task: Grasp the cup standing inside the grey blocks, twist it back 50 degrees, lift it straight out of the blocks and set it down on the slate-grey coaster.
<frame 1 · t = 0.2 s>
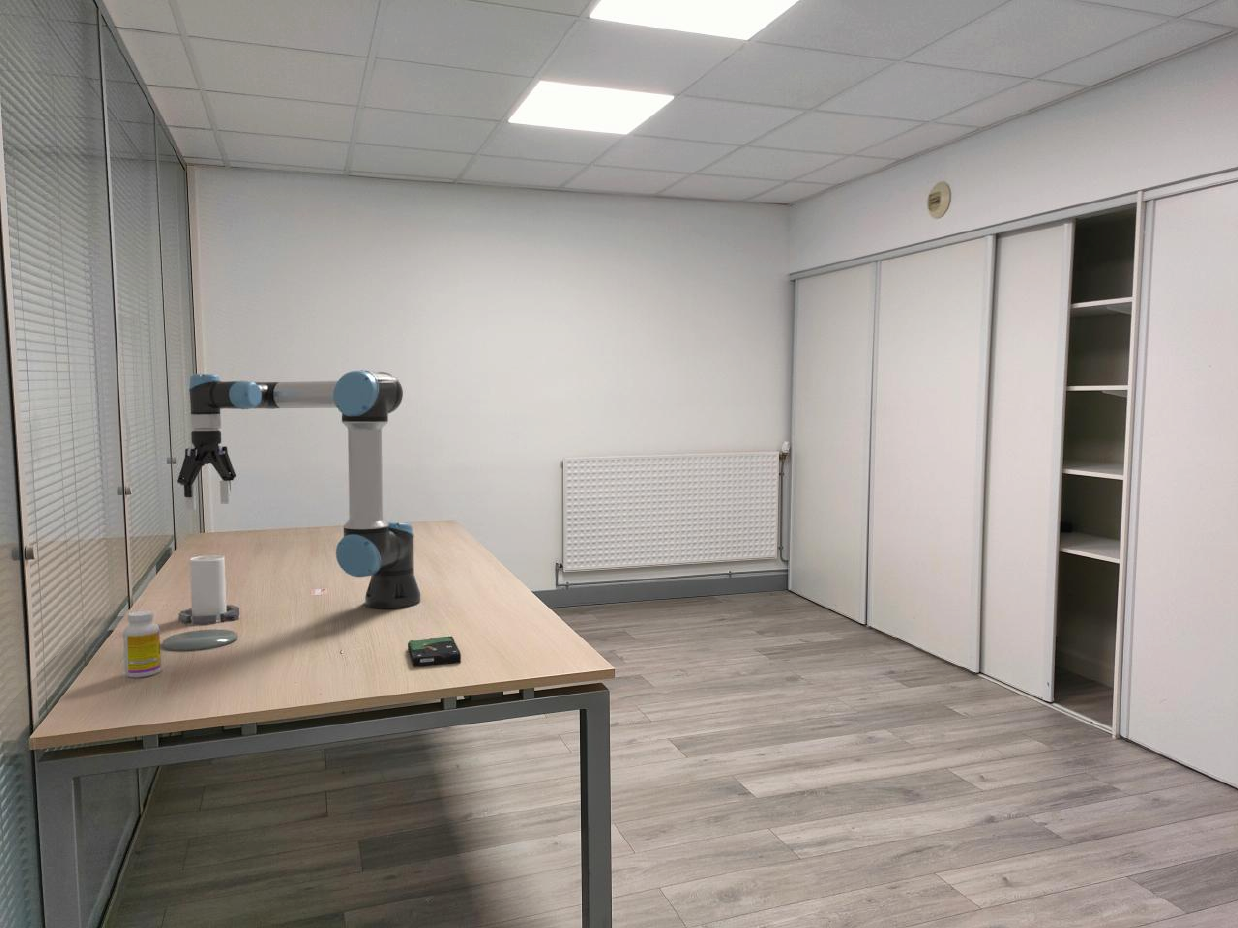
hand: (208, 506, 246), 28 cm above the table, fingers open, 13 cm apart
disk drive: (433, 658, 197), on the table
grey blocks: (209, 617, 232), on the table
supplement bottle: (143, 674, 184), on the table
coaster: (200, 641, 209), on the table
cup: (209, 618, 232), resting in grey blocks
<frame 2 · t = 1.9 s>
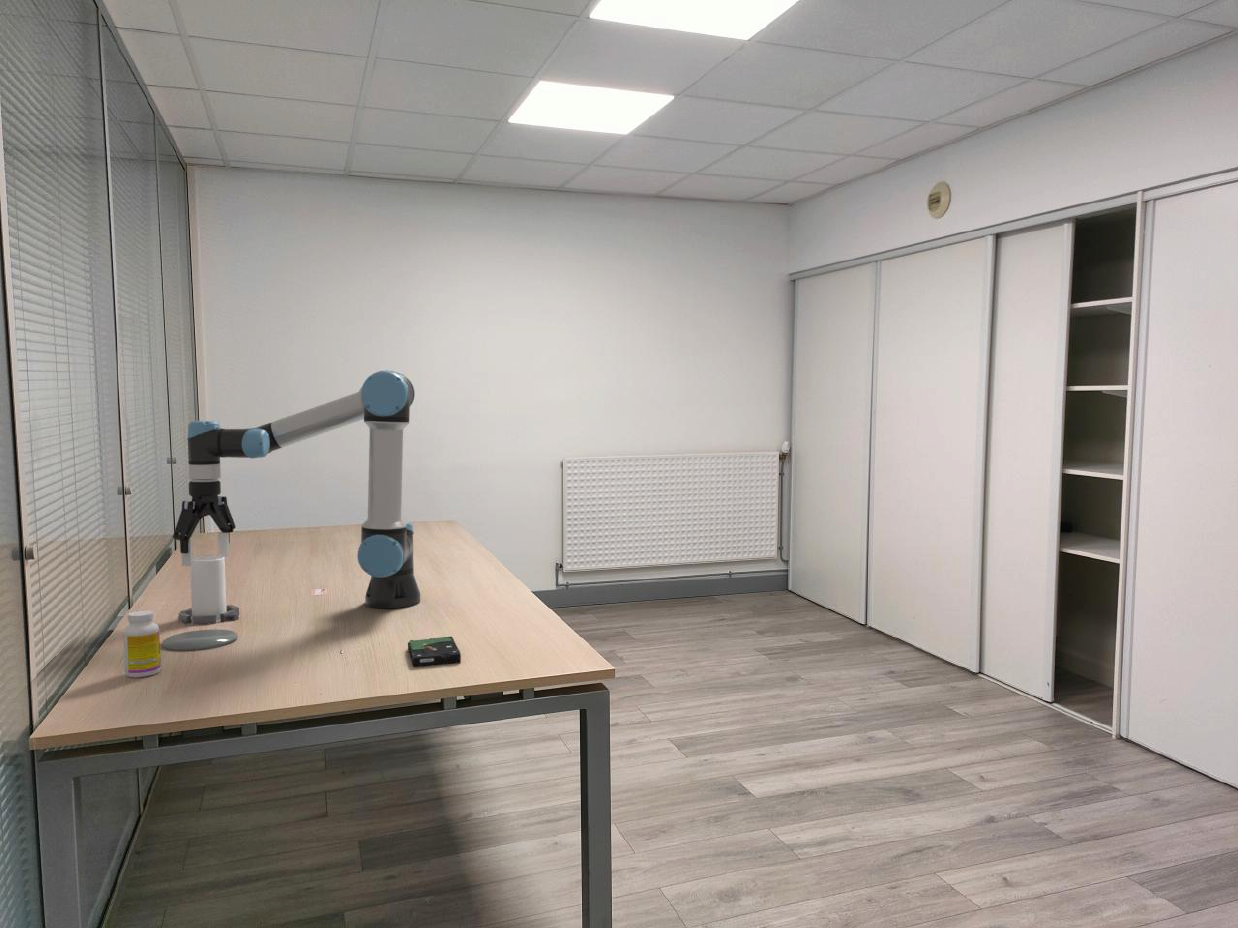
hand: (206, 561, 230), 15 cm above the table, fingers open, 13 cm apart
nothing on the table moved.
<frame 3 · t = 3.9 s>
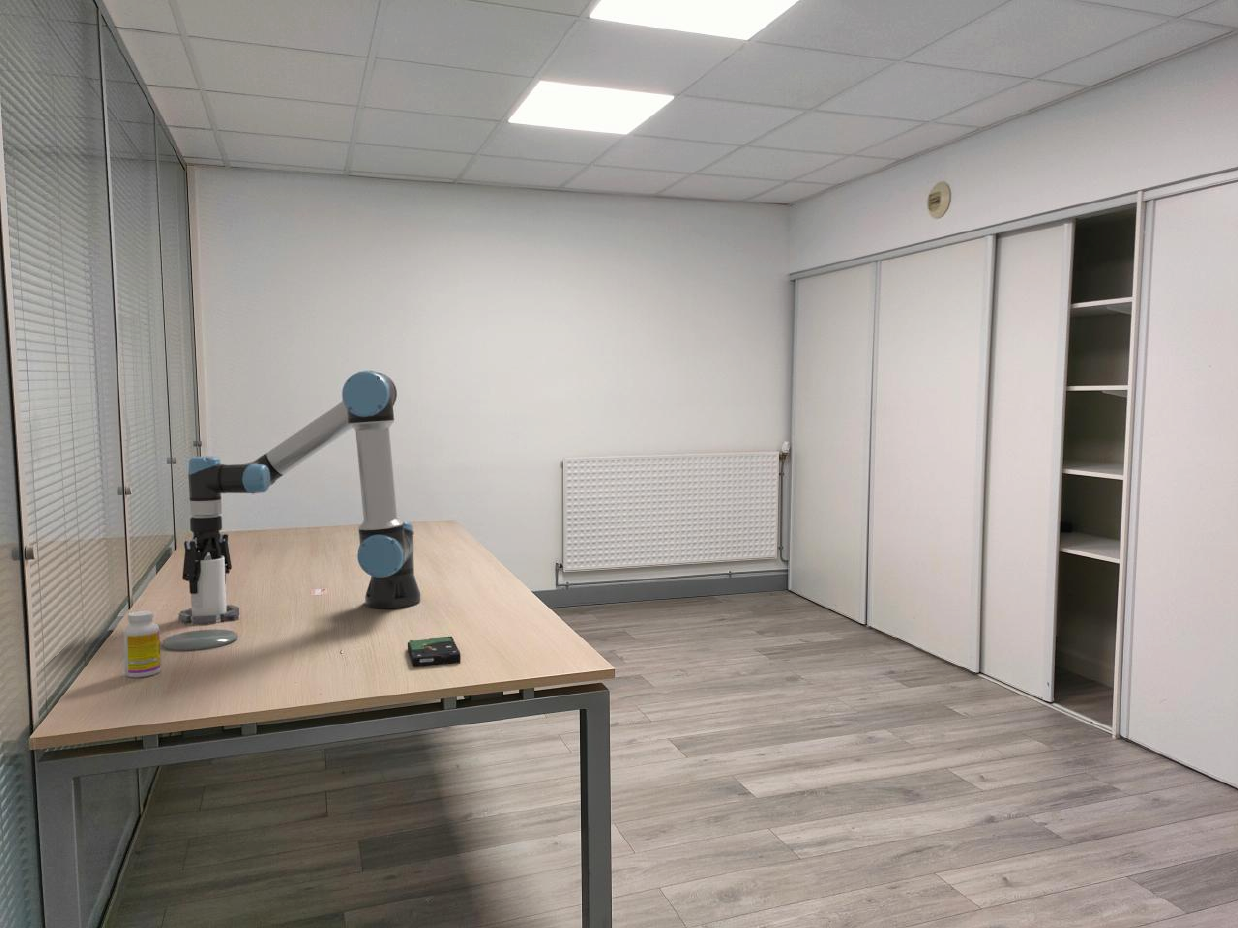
hand: (208, 601, 231), 4 cm above the table, fingers closed on cup, 8 cm apart
cup: (209, 618, 232), resting in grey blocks, touching gripper
everything else where it was.
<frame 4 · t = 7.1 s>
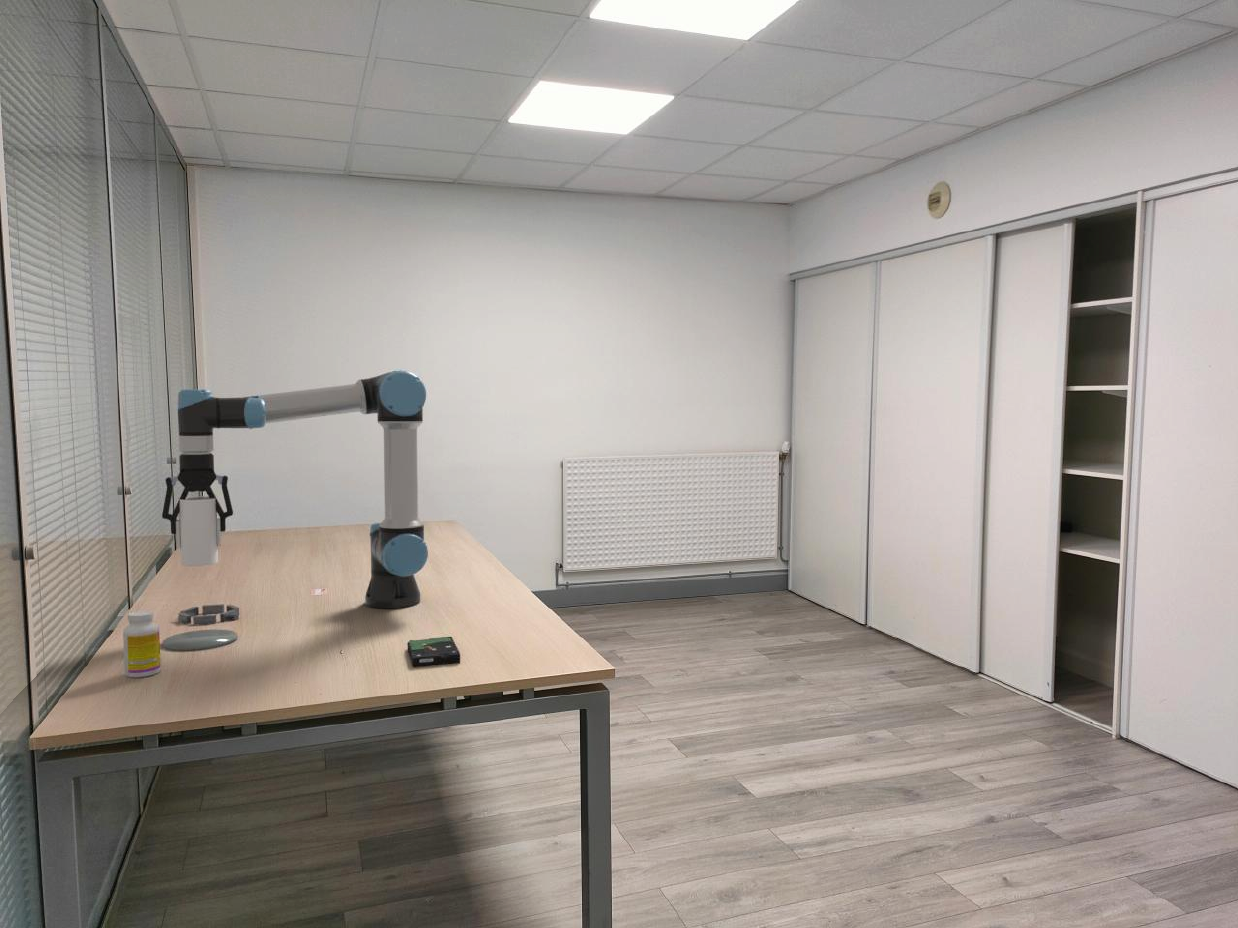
hand: (199, 546, 215), 22 cm above the table, fingers closed on cup, 8 cm apart
cup: (199, 564, 215), point 17 cm above the table, touching gripper
everything else where it was.
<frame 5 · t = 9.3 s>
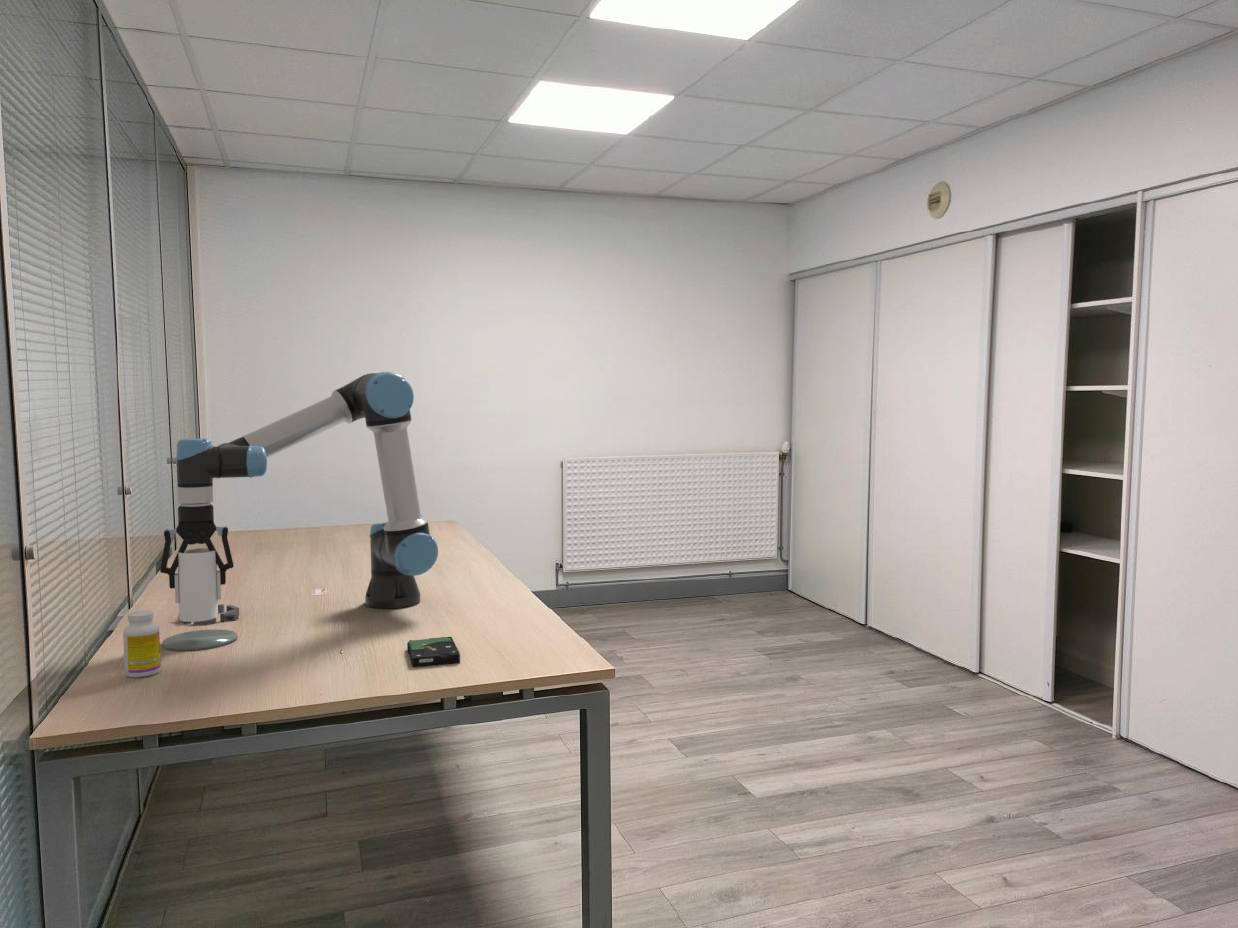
hand: (198, 599, 208), 10 cm above the table, fingers closed on cup, 8 cm apart
cup: (198, 618, 208), point 6 cm above the table, touching gripper
everything else where it was.
when the fingers open (6 cm above the table, at t = 10.8 s): cup stays where it is, resting on coaster.
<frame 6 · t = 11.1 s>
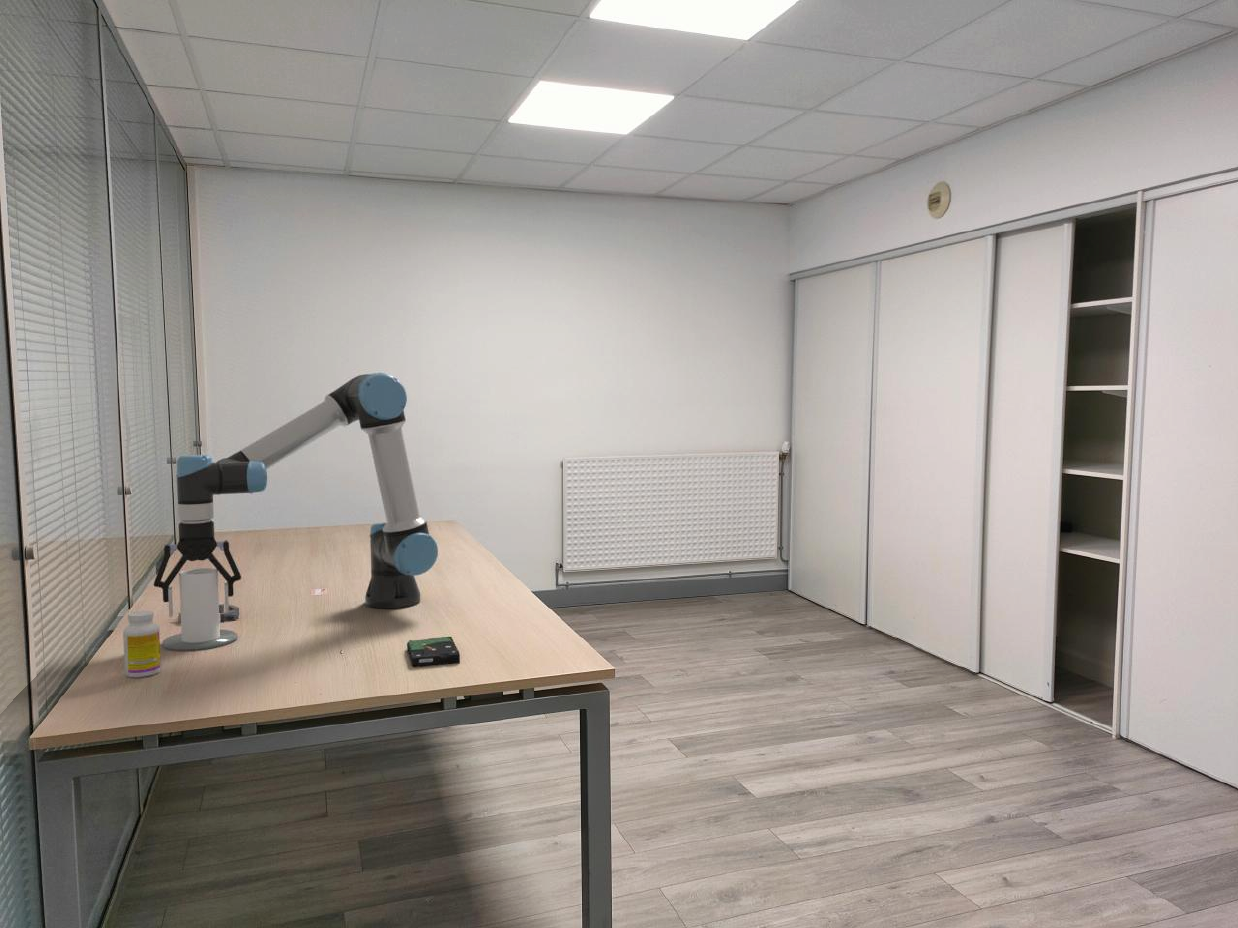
hand: (199, 612, 208), 7 cm above the table, fingers open, 11 cm apart
cup: (200, 638, 209), point 1 cm above the table, touching coaster
everything else where it was.
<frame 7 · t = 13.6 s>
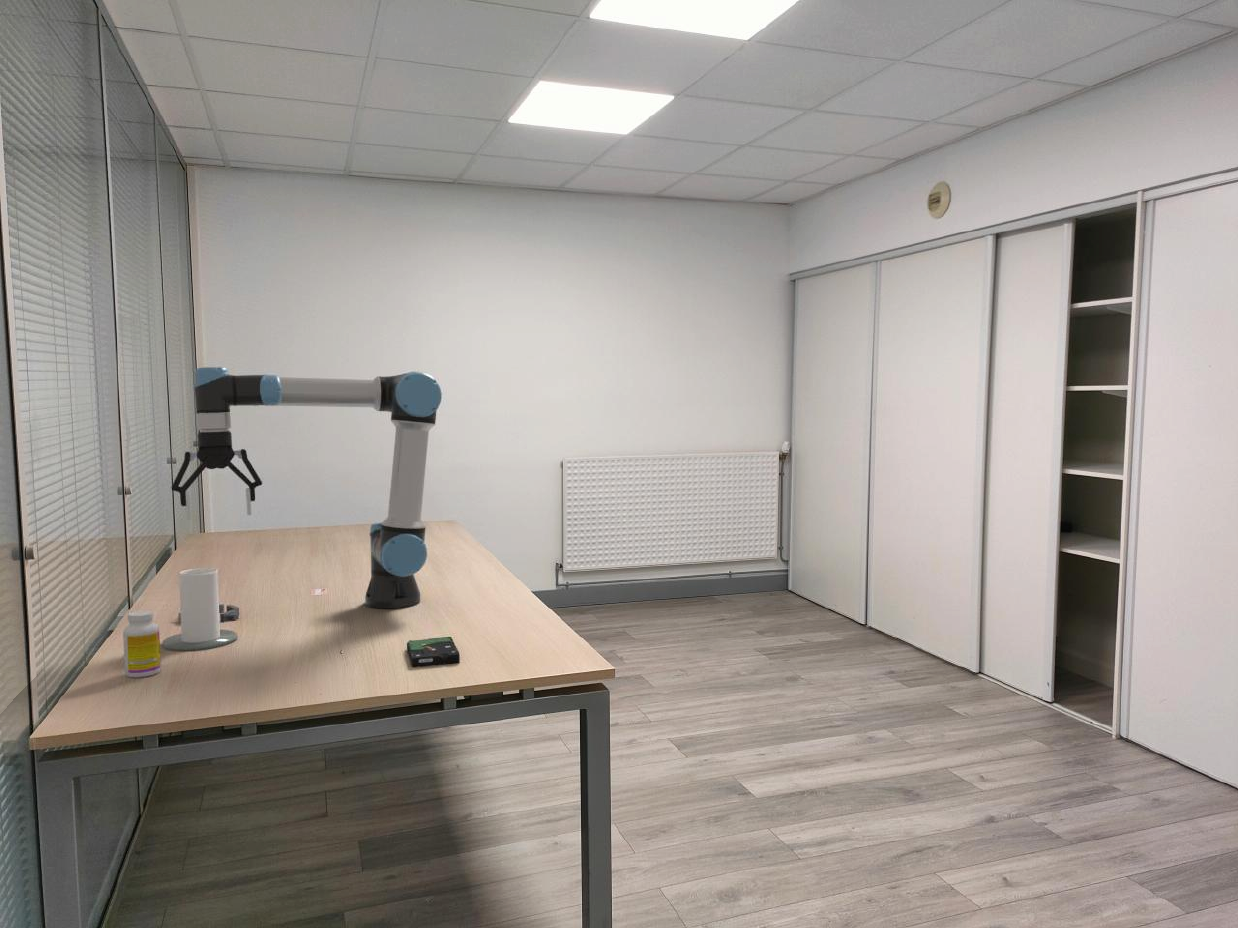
hand: (219, 517, 217), 28 cm above the table, fingers open, 13 cm apart
nothing on the table moved.
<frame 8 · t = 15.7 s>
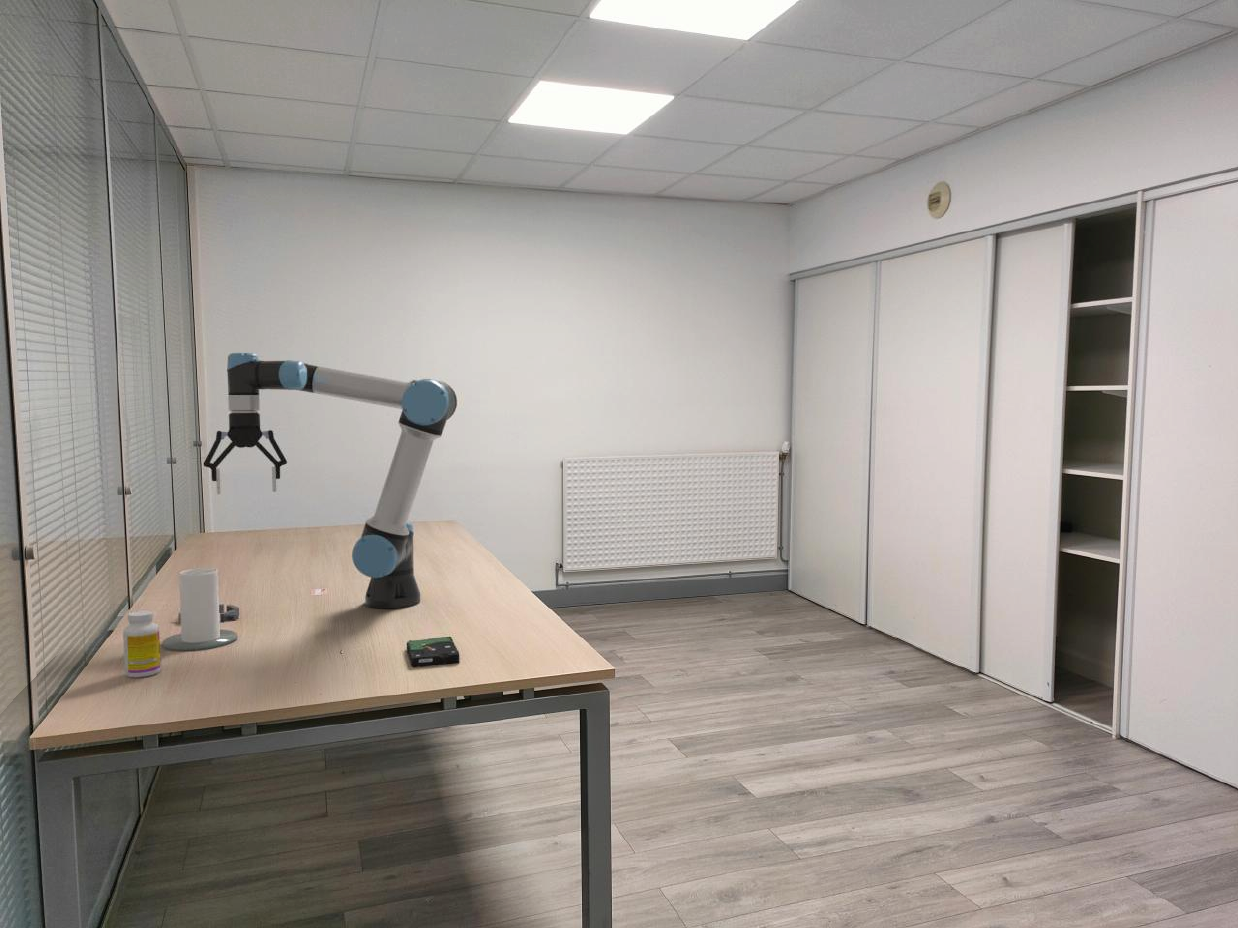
hand: (246, 492, 233), 33 cm above the table, fingers open, 13 cm apart
nothing on the table moved.
at the end: cup 0.1 cm from the coaster (horizontally); cup tilted 0°; the gripper is holding nothing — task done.
